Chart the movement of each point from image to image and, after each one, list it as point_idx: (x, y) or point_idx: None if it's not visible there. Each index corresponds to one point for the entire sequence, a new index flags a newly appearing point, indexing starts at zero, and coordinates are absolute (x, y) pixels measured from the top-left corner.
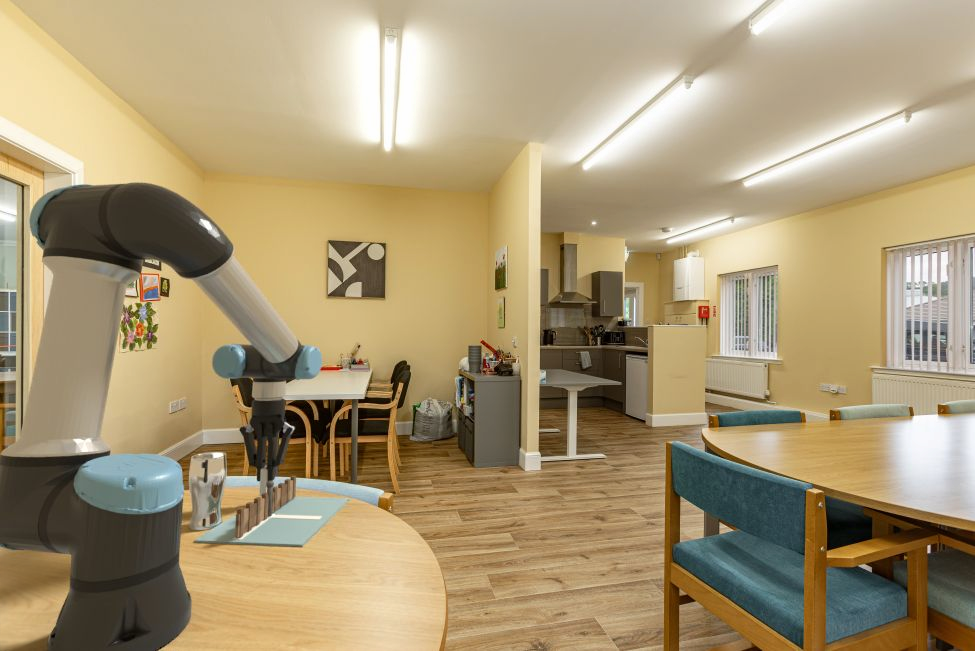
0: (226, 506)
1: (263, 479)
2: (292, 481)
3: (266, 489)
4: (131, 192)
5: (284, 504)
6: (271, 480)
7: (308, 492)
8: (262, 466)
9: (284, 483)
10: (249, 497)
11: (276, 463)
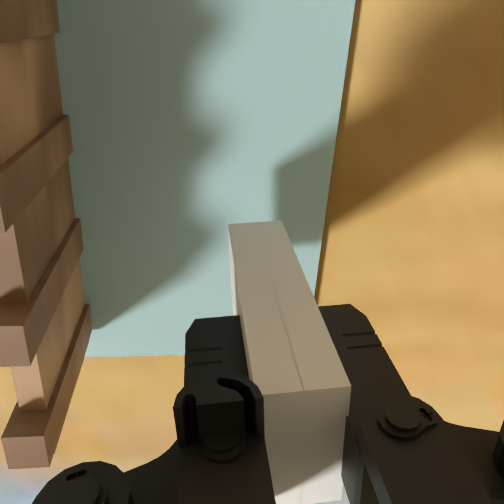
0: (498, 172)
1: (275, 301)
2: (19, 389)
3: (232, 258)
4: None
5: (74, 211)
6: (197, 326)
7: (69, 442)
8: (352, 446)
9: (33, 304)
10: (406, 332)
11: (82, 498)
